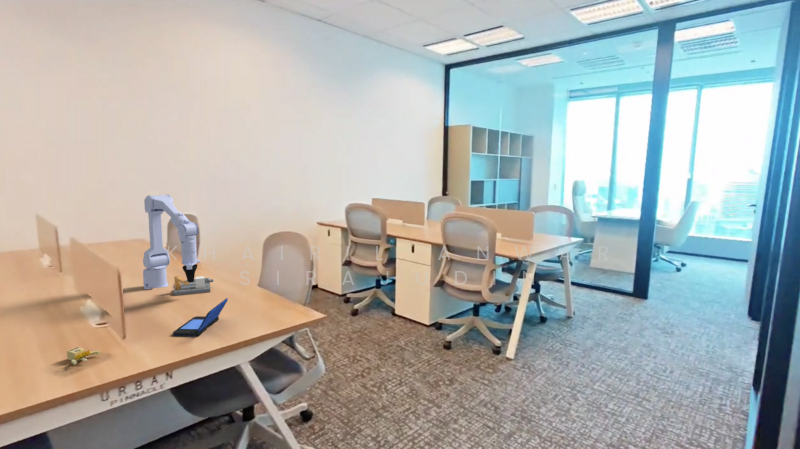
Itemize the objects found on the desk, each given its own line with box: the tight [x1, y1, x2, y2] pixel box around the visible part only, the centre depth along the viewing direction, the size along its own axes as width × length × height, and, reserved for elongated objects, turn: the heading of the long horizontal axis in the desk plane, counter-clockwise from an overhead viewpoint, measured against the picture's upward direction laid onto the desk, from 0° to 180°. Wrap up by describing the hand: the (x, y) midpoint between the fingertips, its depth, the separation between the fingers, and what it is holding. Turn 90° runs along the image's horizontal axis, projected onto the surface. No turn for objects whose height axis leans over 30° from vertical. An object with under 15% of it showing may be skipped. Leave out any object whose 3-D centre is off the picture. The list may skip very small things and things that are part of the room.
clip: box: [174, 275, 189, 290], centre depth 179 cm, size 13×2×6 cm, turn 45°
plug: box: [195, 275, 214, 289], centre depth 188 cm, size 7×4×6 cm, turn 116°
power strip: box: [173, 283, 211, 297], centre depth 186 cm, size 14×9×2 cm, turn 116°
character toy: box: [66, 346, 102, 365], centre depth 121 cm, size 8×3×8 cm
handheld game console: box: [172, 297, 229, 338], centre depth 146 cm, size 16×13×9 cm
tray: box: [181, 277, 211, 286], centre depth 196 cm, size 14×8×2 cm, turn 116°
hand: (190, 282), depth 177 cm, fingers closed
